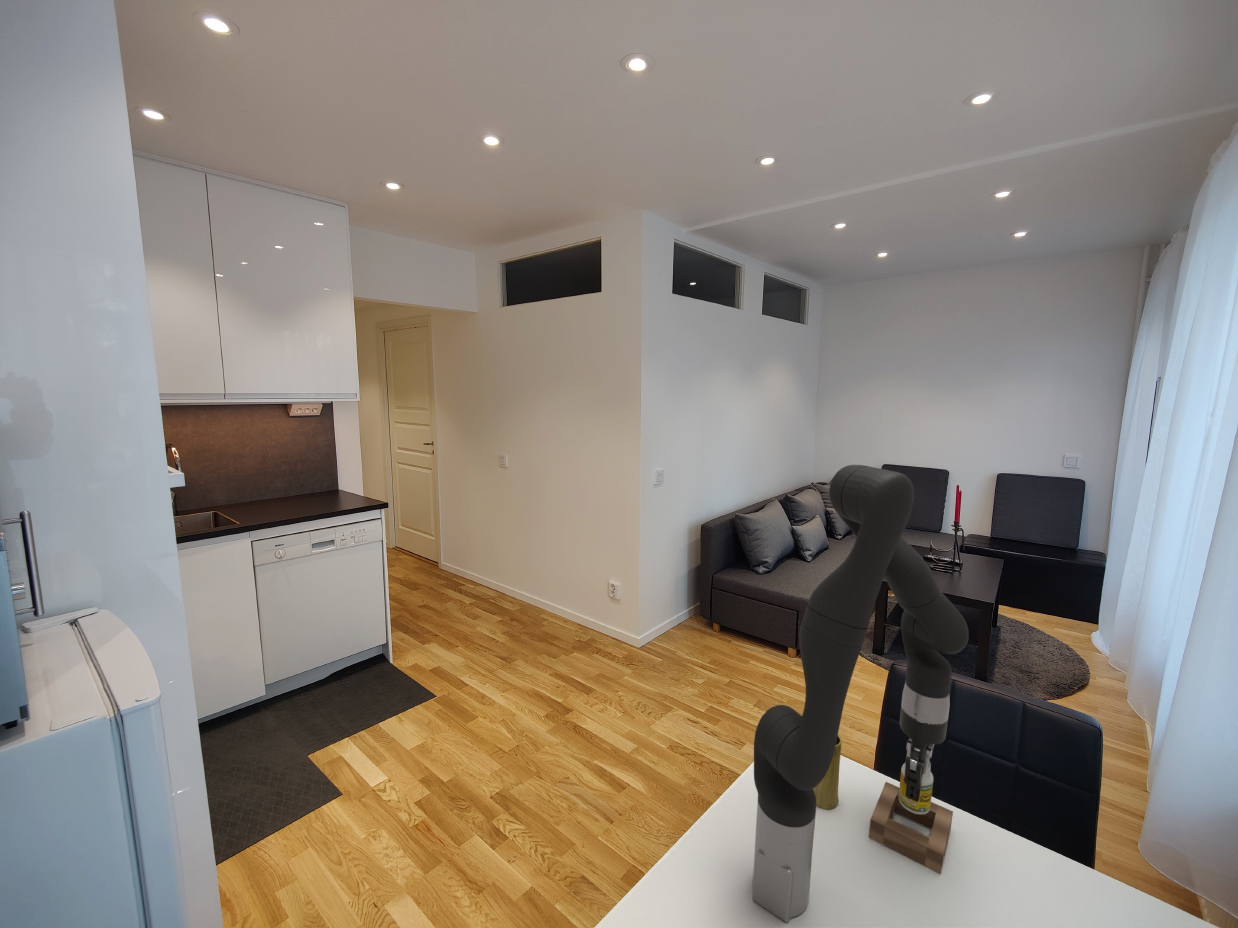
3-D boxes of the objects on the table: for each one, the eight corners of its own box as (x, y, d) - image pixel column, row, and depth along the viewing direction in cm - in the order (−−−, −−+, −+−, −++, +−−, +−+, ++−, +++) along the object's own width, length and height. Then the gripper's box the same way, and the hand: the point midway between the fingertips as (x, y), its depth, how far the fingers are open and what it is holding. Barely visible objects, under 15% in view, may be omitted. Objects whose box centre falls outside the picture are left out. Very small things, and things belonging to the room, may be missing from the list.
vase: (841, 794, 112) (846, 734, 109) (835, 814, 107) (840, 752, 104) (811, 782, 115) (815, 723, 113) (804, 801, 110) (808, 740, 107)
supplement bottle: (907, 788, 105) (912, 746, 103) (935, 807, 101) (941, 762, 99) (892, 800, 102) (897, 757, 100) (920, 820, 98) (926, 775, 96)
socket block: (940, 873, 94) (943, 854, 94) (868, 836, 102) (870, 818, 101) (950, 828, 104) (953, 811, 103) (884, 797, 111) (885, 781, 110)
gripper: (909, 683, 106) (901, 758, 109) (893, 720, 95) (884, 802, 98) (953, 697, 101) (944, 775, 104) (941, 738, 90) (931, 824, 93)
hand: (915, 788), depth 101 cm, fingers closed on supplement bottle, 5 cm apart
